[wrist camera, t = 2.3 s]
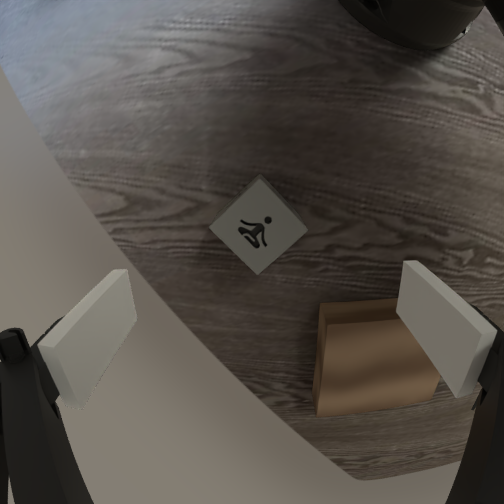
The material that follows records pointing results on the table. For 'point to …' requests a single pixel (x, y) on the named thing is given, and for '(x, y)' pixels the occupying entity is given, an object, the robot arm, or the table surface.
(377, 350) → the brown flat block
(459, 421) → the table surface
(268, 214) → the dice cube
